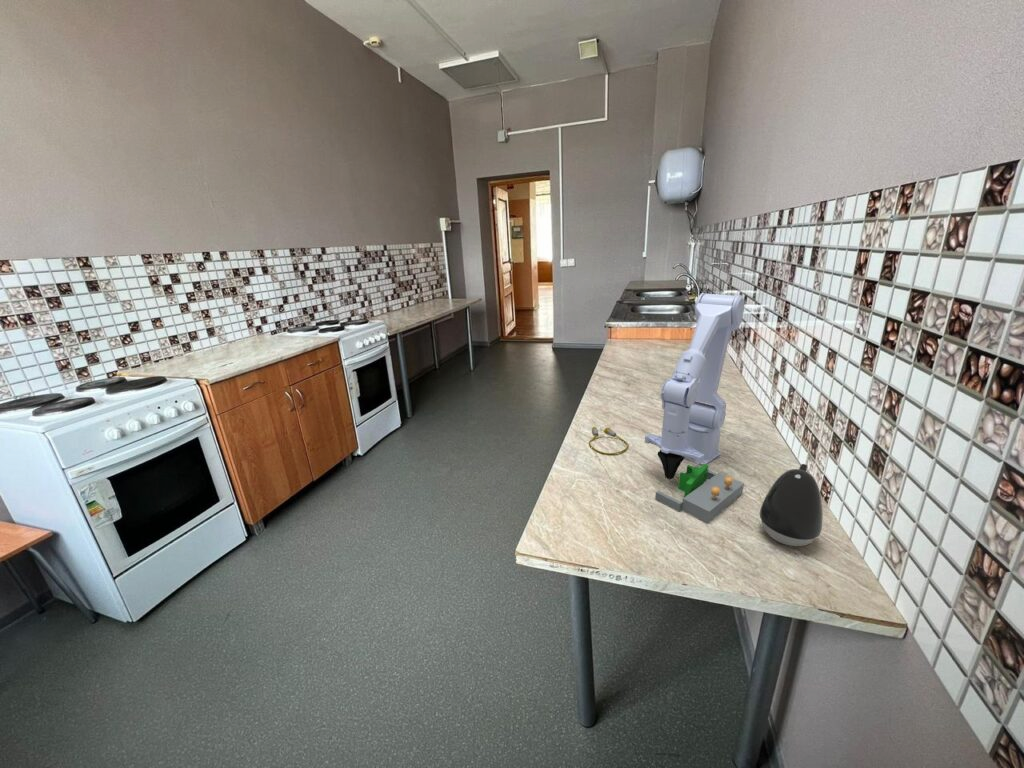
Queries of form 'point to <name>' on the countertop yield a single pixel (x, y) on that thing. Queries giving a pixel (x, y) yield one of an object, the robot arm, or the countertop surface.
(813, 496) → the black rounded dome
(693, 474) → the pipe clamp
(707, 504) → the pegged forked bracket
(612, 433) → the extension cord
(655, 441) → the robot arm
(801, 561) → the countertop surface
